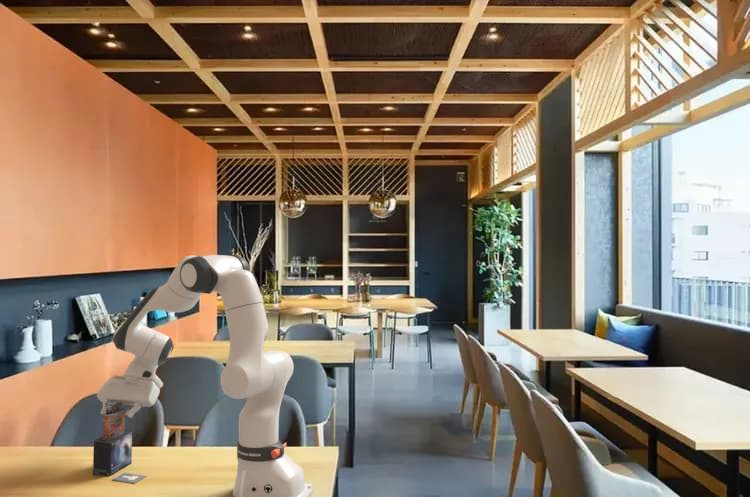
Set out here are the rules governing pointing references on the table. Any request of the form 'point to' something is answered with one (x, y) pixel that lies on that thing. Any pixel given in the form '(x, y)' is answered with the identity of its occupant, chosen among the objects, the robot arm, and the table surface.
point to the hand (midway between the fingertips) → (115, 415)
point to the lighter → (113, 421)
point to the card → (129, 478)
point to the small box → (112, 454)
